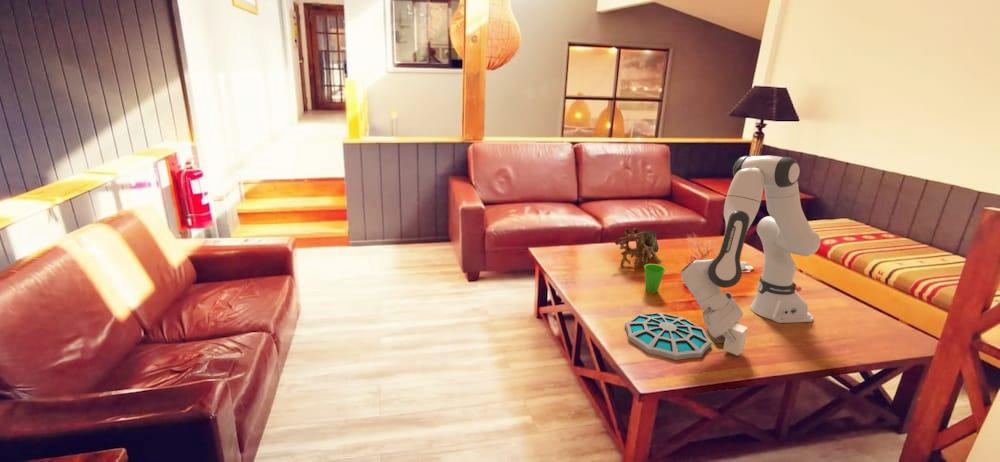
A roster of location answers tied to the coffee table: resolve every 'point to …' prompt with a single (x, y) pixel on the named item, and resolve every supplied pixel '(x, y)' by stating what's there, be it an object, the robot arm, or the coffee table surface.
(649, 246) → the decorative coral sculpture
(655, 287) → the cup
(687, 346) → the decorative platform
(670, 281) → the coffee table surface
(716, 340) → the walnut base block
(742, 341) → the cream pillar block
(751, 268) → the teacup and saucer
